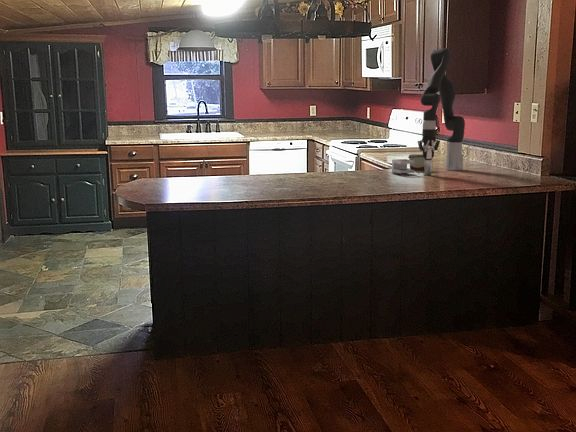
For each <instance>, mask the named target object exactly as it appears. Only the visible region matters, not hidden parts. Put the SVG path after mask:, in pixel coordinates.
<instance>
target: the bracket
mask: <svg viewBox="0 0 576 432" xmlns="http://www.w3.org/2000/svg"><path fill="white" fill-rule="evenodd" d="M414 163H415V161H413V160H409V158H407V159H406V158H402V159H401V158H399V159H391V171H390V174H391V173H392V174H391V175H402V174H401V173H407V174H415V171H414V170H411V169H410V168H408V165H410V164H414Z"/></svg>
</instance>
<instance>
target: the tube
mask: <svg viewBox="0 0 576 432" xmlns="http://www.w3.org/2000/svg"><path fill="white" fill-rule="evenodd" d="M432 160H433V158H432V148H430V147H428V148H427V150H426V158H425V166H424V171H423V172H424V173H423V175H424V176H426V177H427V176H428V177H430V176H432V166H433V165H432V163H433V161H432Z"/></svg>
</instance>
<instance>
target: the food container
mask: <svg viewBox="0 0 576 432" xmlns="http://www.w3.org/2000/svg"><path fill="white" fill-rule="evenodd" d="M407 159H408V160H413V161H415V163H414V164H409V169H411V170H414V172H424V166H425V158H423V153H421V154H419V153H418V154H414V153H413V154H409V155H408V158H407Z"/></svg>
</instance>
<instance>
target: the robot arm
mask: <svg viewBox="0 0 576 432" xmlns="http://www.w3.org/2000/svg"><path fill="white" fill-rule="evenodd" d="M451 52H452V51H451V50H450V49H449V48H448V47H447V48H446V47H444V48H440V49H433V50H432V51H430V62H431V65H432V68H433V73H432V74H431V75H430V77H429V79H428V83H427V86H426V88H425V90H424V91H423V92H422V94H421V96H420V104H421V105H422V106H424V107H426V106H427V107H430V106H431V108H430V109H425V110H424V111H423V121H422V134H421V135H422V138H421V140H417V144H418V148H419V151H422V154H423V158H426V150H427V148H432V159H433V158H434V157H435V152H436V151H438V149H439V145H440V142H441V140H439V139H436V134H437V133H436V132H437V111H438V107H439V104H440V101H441V106H442V112H443V121H444V127H445V128H446V130H447V131H451V132H452V134H451V135H450V136H448V137H447V138H446V156H445V158H446V159H445V160H446V161H445V170H446V171H462V170H463V169H464V168H463V167H464V154H463V140H464V137H465V136H464V135H465V128H466V127H465V126H466V122H465V119H464V116H460V115H454V110H453V108H454V106H453V105H454V103H455V100H456V94H457V93H456V89H455V85H454V82H453V81H452V80H451V78H449V77H448V76H447V75H446V74H445V73H446V71H447V70H448V68H449V65H450V63H451V60H452V53H451ZM438 93H439V94H438Z"/></svg>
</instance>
